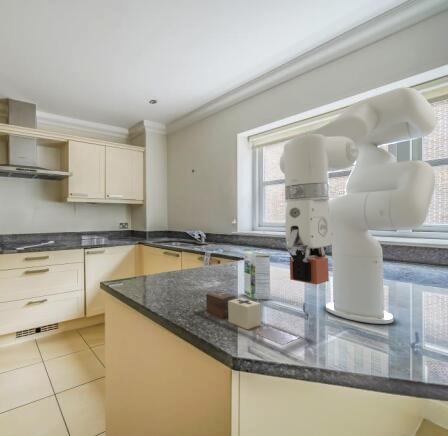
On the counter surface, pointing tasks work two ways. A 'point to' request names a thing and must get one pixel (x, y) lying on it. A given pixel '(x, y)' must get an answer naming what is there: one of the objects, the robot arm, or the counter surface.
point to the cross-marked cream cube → (244, 313)
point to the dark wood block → (218, 303)
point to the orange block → (315, 270)
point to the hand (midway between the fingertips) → (309, 277)
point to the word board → (268, 333)
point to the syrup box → (257, 274)
